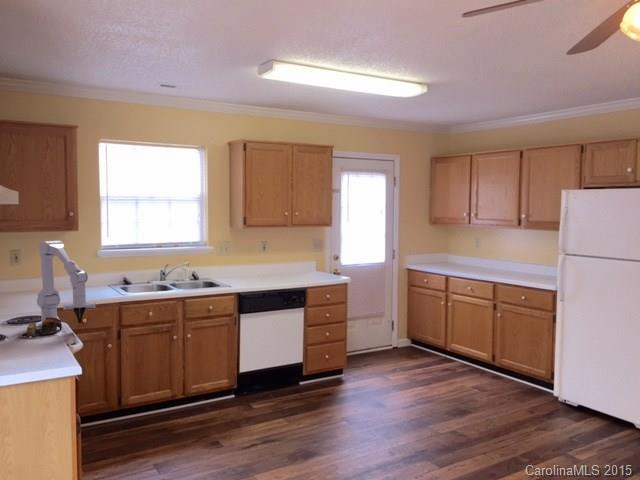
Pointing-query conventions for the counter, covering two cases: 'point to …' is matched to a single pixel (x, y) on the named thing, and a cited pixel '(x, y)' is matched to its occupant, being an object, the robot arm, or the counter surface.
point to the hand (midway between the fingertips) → (80, 322)
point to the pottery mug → (50, 325)
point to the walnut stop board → (31, 329)
